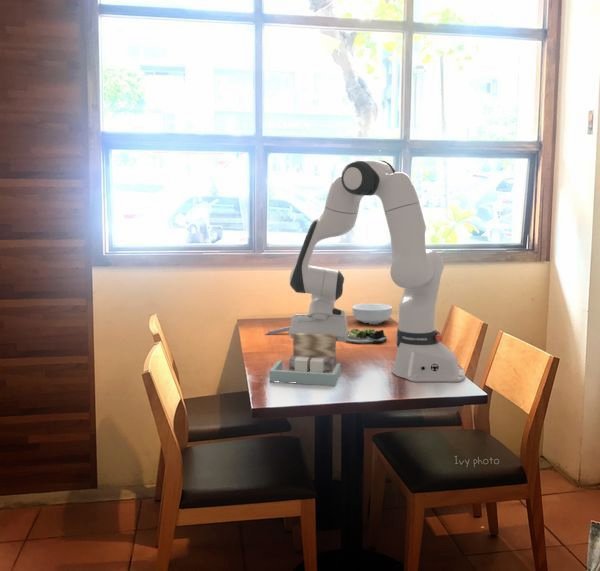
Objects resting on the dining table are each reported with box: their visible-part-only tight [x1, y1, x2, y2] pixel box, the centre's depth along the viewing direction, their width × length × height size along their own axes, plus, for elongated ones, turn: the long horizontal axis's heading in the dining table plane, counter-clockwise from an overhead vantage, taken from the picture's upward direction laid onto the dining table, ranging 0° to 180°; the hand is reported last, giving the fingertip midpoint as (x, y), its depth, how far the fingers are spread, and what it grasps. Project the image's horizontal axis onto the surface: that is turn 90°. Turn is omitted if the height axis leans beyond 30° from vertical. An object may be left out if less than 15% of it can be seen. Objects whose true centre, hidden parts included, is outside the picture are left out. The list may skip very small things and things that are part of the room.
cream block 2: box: [309, 358, 325, 373], centre depth 206 cm, size 4×4×4 cm
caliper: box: [264, 326, 290, 335], centre depth 257 cm, size 20×1×6 cm, turn 99°
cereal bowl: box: [351, 302, 393, 325], centre depth 278 cm, size 17×17×7 cm
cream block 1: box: [294, 357, 310, 372], centre depth 207 cm, size 4×4×4 cm
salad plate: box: [345, 328, 387, 344], centre depth 249 cm, size 19×18×5 cm
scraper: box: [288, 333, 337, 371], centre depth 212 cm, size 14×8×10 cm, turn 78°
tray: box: [269, 359, 341, 387], centre depth 199 cm, size 20×12×4 cm, turn 79°
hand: (316, 349), depth 216 cm, fingers closed, pressing on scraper
